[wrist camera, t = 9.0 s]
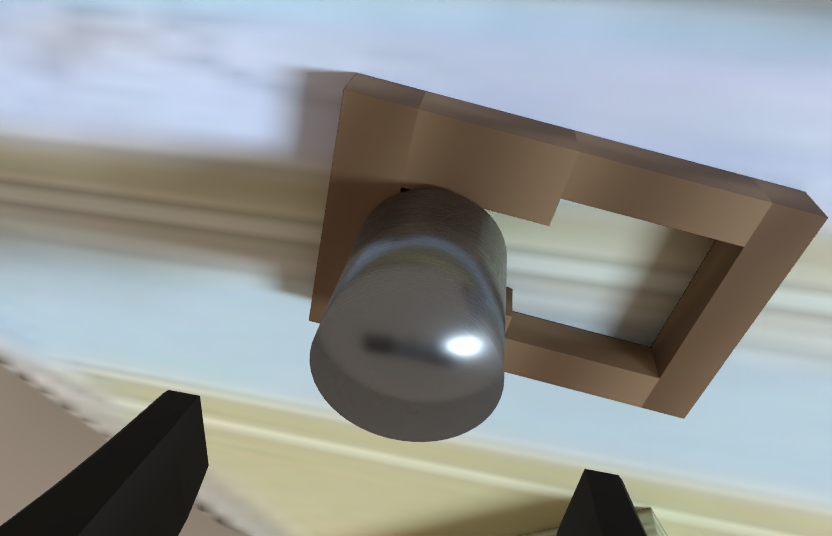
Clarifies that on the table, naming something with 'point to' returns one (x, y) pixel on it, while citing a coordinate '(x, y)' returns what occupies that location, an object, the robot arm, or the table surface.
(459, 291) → the peg
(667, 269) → the table surface
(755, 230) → the keyhole plate
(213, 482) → the table surface
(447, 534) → the table surface
